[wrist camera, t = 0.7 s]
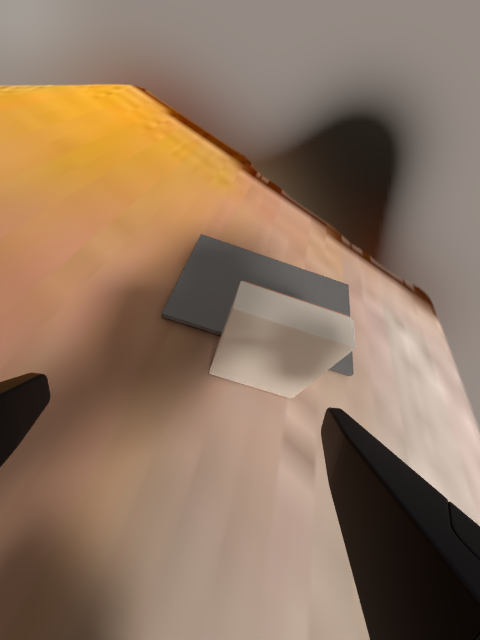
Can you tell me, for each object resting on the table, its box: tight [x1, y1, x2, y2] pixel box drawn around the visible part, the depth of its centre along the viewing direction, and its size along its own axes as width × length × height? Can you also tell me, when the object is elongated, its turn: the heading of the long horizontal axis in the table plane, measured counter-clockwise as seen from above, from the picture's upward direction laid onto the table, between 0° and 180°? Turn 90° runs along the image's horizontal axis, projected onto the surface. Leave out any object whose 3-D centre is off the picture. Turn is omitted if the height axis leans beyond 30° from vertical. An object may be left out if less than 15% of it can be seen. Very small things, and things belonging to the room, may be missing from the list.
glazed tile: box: [209, 281, 355, 399], centre depth 21 cm, size 3×8×10 cm, turn 78°
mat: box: [162, 234, 353, 376], centre depth 30 cm, size 13×20×1 cm, turn 78°
